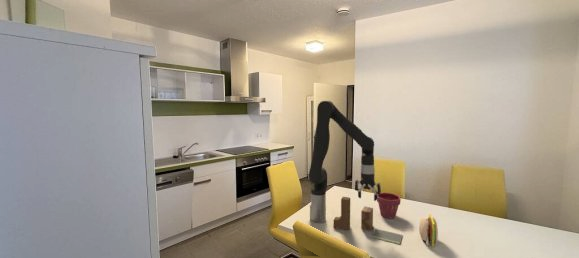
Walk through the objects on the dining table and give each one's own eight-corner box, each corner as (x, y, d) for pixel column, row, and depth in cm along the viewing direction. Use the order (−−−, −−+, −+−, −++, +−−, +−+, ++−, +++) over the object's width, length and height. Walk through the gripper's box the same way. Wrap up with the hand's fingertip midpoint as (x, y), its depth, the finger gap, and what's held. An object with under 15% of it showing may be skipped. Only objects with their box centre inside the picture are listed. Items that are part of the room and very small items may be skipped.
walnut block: (361, 228, 140) (361, 210, 139) (364, 223, 146) (364, 206, 145) (370, 231, 138) (370, 212, 137) (372, 225, 144) (373, 208, 143)
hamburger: (417, 233, 135) (418, 212, 134) (434, 235, 131) (435, 214, 130) (420, 244, 124) (421, 221, 122) (439, 247, 120) (439, 224, 119)
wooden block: (333, 227, 143) (333, 197, 141) (335, 223, 147) (335, 195, 145) (348, 230, 139) (348, 200, 137) (350, 226, 143) (350, 197, 141)
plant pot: (395, 210, 164) (396, 192, 162) (403, 220, 150) (404, 200, 148) (374, 210, 165) (374, 192, 164) (379, 219, 151) (380, 200, 150)
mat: (371, 237, 131) (371, 236, 131) (375, 229, 139) (375, 228, 139) (400, 244, 123) (400, 243, 123) (402, 235, 132) (402, 234, 132)
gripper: (353, 172, 139) (353, 199, 141) (379, 174, 132) (379, 203, 133) (357, 169, 146) (357, 195, 147) (381, 171, 138) (381, 199, 140)
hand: (367, 199), depth 140 cm, fingers open, 8 cm apart
